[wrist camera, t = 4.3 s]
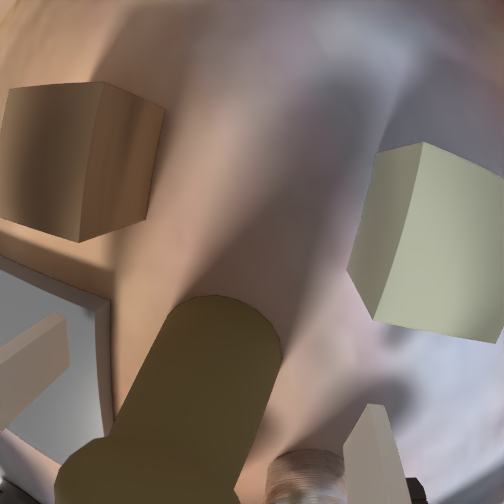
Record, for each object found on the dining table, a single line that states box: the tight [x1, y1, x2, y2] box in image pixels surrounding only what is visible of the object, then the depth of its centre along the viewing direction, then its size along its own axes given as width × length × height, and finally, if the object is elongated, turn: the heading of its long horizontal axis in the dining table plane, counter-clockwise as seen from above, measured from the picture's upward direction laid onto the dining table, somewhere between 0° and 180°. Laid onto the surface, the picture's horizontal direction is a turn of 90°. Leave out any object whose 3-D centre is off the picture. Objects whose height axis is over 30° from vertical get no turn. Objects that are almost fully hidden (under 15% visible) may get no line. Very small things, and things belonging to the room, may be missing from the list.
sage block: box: [346, 142, 504, 344], centre depth 10 cm, size 5×5×5 cm
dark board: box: [0, 255, 114, 465], centre depth 17 cm, size 18×18×2 cm
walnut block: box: [0, 82, 166, 243], centre depth 11 cm, size 5×5×5 cm
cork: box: [54, 295, 282, 504], centre depth 9 cm, size 6×6×11 cm
